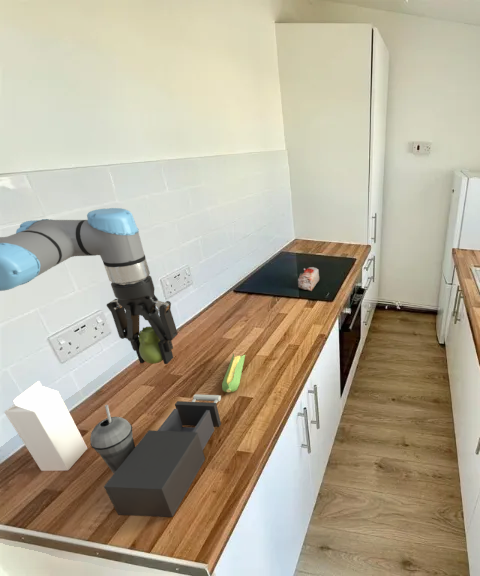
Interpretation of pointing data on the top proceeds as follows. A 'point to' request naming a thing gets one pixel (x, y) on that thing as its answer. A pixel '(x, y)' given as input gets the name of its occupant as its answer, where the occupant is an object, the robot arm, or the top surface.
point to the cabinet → (156, 474)
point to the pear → (149, 346)
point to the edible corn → (233, 374)
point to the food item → (308, 278)
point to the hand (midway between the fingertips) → (157, 360)
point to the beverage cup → (113, 440)
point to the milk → (46, 428)
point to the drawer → (195, 417)
